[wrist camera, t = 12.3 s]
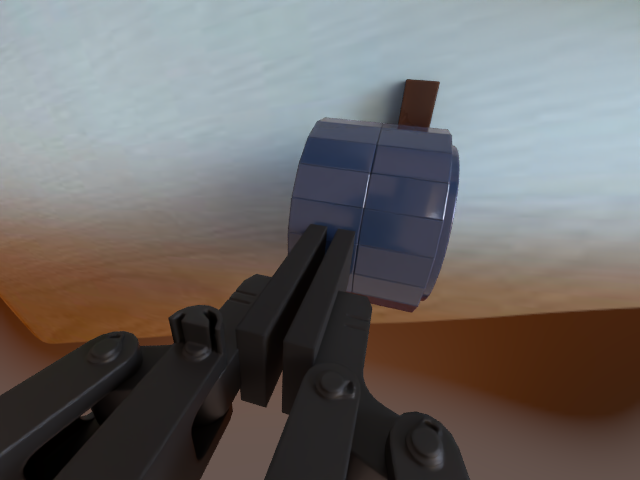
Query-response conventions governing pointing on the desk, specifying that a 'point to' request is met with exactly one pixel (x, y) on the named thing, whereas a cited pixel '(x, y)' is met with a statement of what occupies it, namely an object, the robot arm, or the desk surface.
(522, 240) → the desk surface
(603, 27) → the desk surface
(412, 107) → the strip
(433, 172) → the bowl
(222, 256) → the desk surface
